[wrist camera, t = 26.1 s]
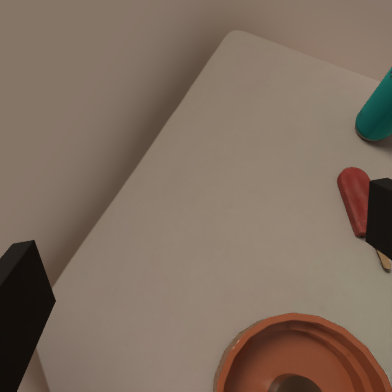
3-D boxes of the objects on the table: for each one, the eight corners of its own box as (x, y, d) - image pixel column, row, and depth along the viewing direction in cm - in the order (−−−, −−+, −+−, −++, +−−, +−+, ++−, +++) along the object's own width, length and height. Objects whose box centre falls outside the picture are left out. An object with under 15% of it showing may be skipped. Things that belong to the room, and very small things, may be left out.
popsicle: (375, 270, 40) (336, 168, 46) (368, 273, 41) (331, 174, 48) (409, 265, 40) (365, 164, 46) (401, 268, 42) (360, 170, 48)
